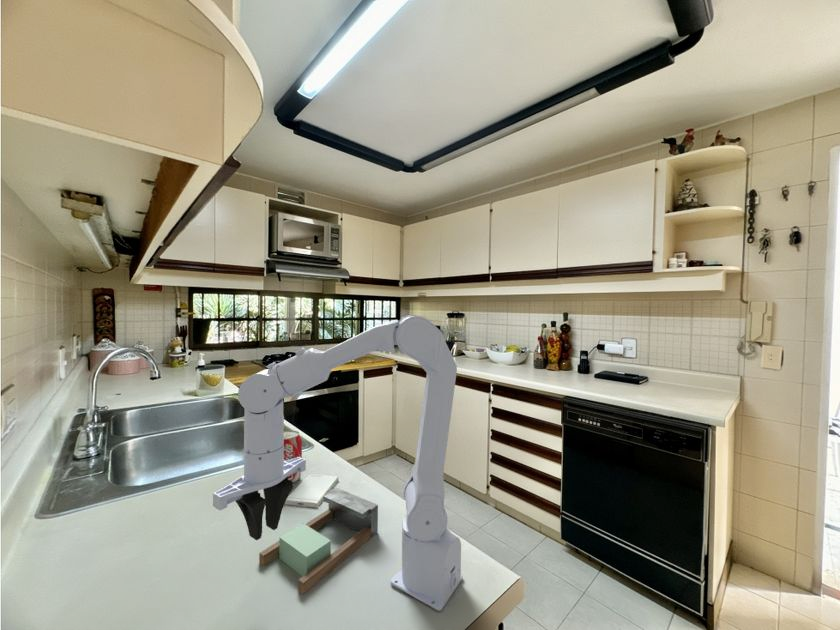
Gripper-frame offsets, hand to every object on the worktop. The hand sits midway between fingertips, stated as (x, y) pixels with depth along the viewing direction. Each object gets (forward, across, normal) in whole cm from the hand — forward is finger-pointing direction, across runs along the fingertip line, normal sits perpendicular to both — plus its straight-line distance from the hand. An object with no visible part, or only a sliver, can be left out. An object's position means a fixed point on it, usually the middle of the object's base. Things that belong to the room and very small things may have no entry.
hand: (263, 531), depth 54 cm
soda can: (+10, -24, -27) cm, 37 cm away
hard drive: (+10, -24, -17) cm, 31 cm away
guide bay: (+9, -13, 0) cm, 16 cm away
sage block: (+10, -8, 0) cm, 13 cm away
